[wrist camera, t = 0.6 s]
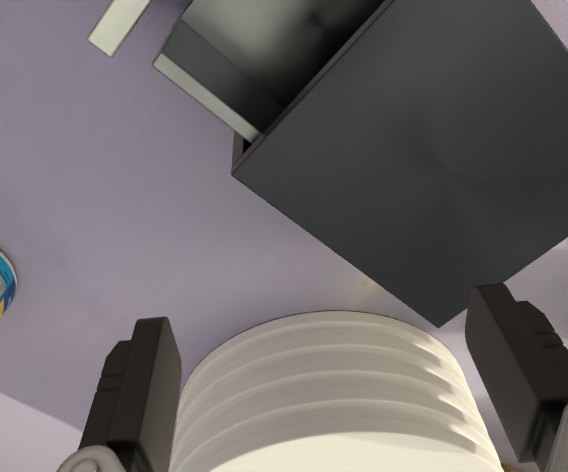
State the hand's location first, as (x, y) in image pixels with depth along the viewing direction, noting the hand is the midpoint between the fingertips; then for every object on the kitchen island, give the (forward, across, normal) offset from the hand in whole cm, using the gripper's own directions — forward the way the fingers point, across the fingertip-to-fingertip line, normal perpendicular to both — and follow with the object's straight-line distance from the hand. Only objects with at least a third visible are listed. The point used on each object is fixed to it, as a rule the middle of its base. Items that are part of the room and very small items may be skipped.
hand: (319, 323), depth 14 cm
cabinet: (+22, -7, +3) cm, 23 cm away
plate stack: (+21, -1, +34) cm, 40 cm away
